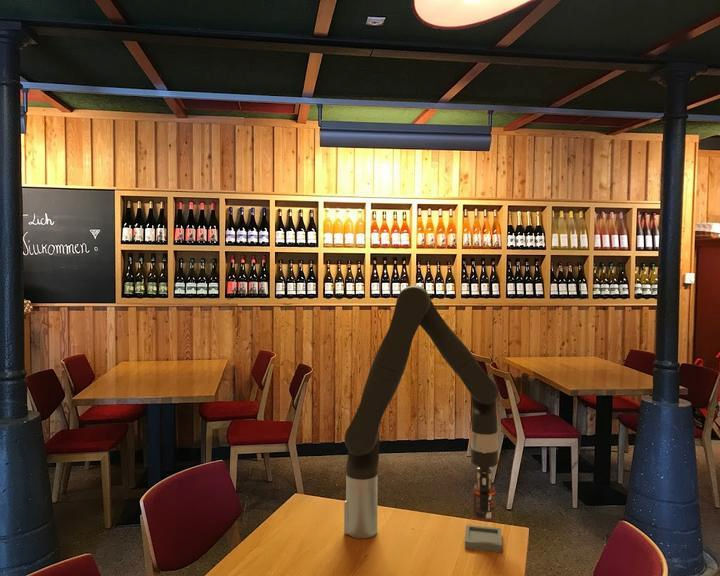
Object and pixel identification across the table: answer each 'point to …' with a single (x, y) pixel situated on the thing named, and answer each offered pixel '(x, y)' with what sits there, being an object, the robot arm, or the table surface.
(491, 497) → the supplement bottle
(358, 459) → the robot arm
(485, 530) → the gray square tray
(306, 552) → the table surface
